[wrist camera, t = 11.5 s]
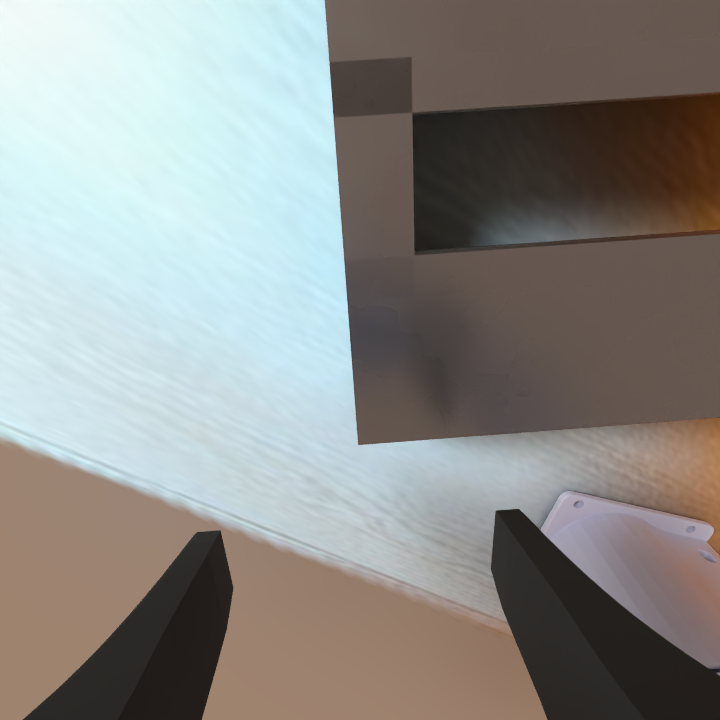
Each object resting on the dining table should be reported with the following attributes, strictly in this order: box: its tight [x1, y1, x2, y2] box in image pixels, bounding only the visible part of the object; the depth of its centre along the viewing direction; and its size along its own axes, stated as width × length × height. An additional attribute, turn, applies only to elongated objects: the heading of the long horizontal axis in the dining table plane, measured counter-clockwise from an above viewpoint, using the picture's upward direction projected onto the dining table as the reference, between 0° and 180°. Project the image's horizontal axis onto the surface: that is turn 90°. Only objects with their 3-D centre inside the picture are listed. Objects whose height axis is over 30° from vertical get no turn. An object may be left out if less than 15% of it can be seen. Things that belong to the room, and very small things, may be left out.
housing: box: [325, 0, 720, 445], centre depth 15 cm, size 16×16×6 cm
